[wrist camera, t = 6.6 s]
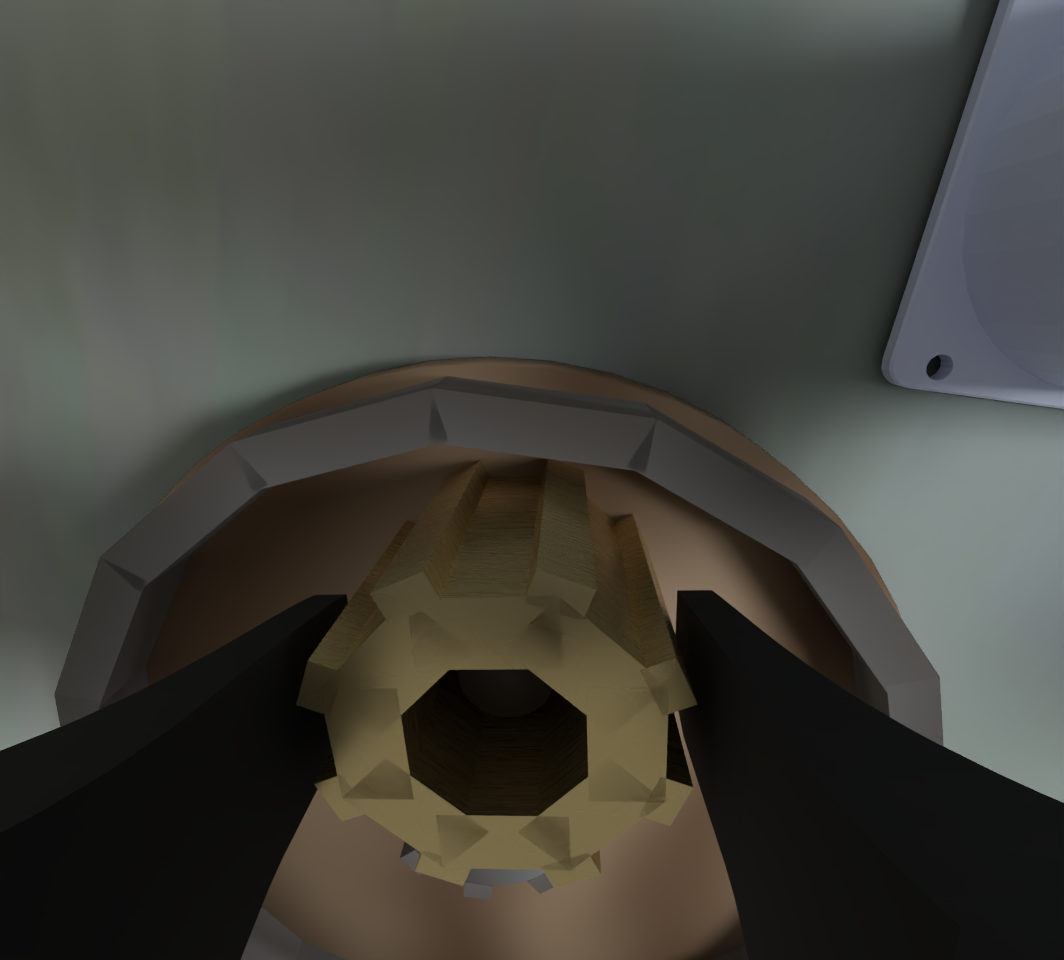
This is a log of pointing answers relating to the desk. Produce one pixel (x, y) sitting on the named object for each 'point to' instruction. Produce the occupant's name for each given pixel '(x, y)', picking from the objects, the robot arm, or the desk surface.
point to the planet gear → (505, 643)
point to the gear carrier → (344, 563)
